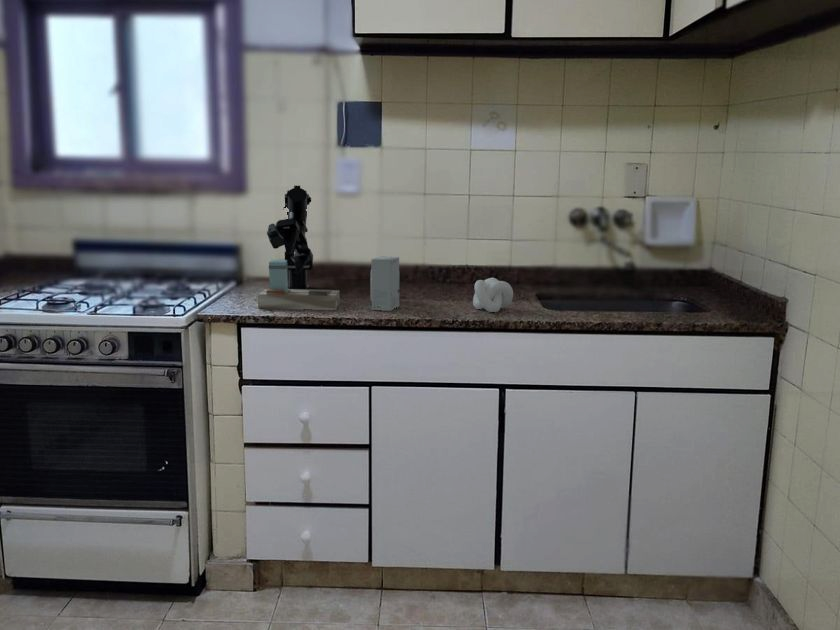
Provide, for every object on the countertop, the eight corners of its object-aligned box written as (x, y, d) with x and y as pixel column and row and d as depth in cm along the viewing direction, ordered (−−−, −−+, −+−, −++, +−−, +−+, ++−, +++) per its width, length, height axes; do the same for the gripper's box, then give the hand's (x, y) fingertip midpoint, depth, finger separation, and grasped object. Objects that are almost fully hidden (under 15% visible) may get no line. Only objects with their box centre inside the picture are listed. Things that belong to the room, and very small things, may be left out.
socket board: (265, 301, 227) (265, 284, 226) (339, 303, 226) (339, 286, 225) (258, 308, 217) (257, 290, 216) (335, 310, 216) (335, 292, 215)
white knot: (510, 306, 226) (511, 276, 224) (514, 314, 214) (516, 283, 213) (472, 305, 226) (473, 276, 224) (474, 314, 214) (475, 282, 213)
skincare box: (390, 312, 215) (390, 259, 212) (370, 310, 217) (370, 258, 214) (400, 306, 223) (400, 256, 220) (380, 305, 225) (380, 255, 222)
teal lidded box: (272, 302, 224) (271, 259, 221) (288, 302, 224) (287, 260, 221) (269, 305, 219) (268, 262, 217) (286, 305, 219) (285, 262, 217)
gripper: (281, 244, 245) (277, 284, 237) (261, 207, 230) (256, 248, 221) (314, 240, 244) (312, 280, 235) (297, 202, 228) (293, 243, 220)
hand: (293, 263), depth 228 cm, fingers open, 9 cm apart
